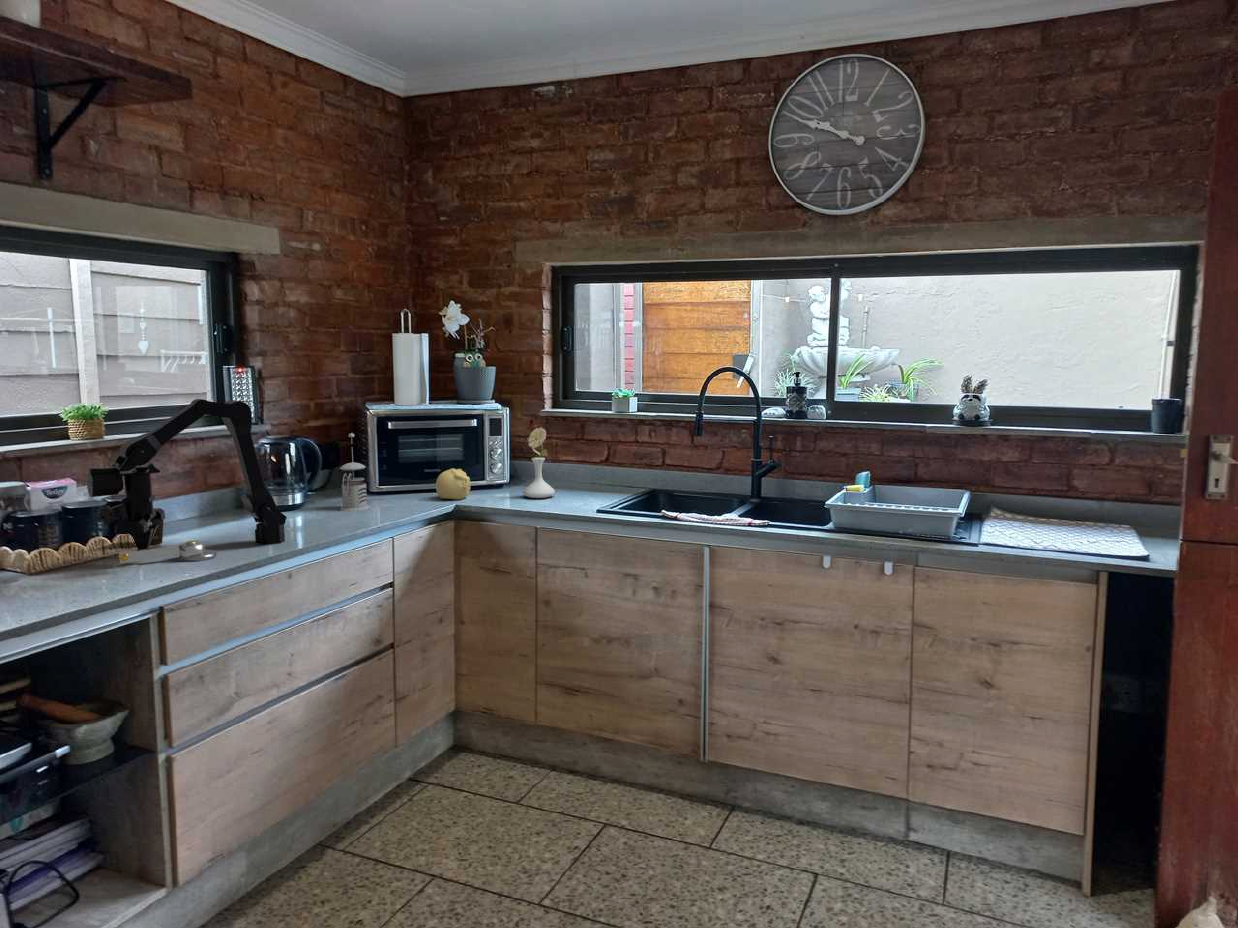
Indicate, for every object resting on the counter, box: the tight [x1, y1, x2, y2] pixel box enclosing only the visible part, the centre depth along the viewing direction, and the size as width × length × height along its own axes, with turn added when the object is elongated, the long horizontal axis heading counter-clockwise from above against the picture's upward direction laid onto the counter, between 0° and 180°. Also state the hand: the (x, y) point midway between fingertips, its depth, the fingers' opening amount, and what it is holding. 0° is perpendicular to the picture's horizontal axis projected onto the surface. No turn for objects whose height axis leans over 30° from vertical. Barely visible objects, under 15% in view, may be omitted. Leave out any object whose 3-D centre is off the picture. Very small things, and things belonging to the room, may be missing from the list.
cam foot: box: [118, 540, 218, 564], centre depth 212 cm, size 21×8×4 cm, turn 120°
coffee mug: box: [149, 507, 165, 547], centre depth 231 cm, size 12×9×10 cm
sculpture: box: [435, 467, 472, 500], centre depth 303 cm, size 12×12×11 cm
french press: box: [339, 432, 371, 512], centre depth 284 cm, size 10×12×25 cm
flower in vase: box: [522, 426, 556, 499], centre depth 303 cm, size 13×11×25 cm
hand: (143, 555), depth 211 cm, fingers closed
